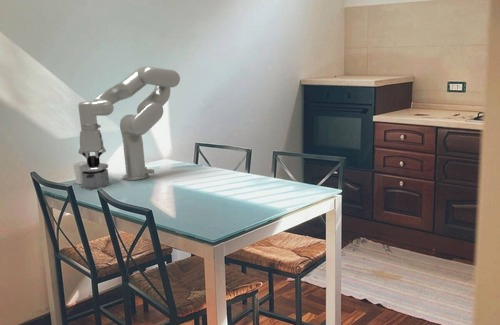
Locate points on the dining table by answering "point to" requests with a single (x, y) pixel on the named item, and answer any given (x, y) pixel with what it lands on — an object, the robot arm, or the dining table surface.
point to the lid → (93, 166)
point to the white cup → (78, 170)
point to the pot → (95, 179)
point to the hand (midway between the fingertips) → (93, 165)
